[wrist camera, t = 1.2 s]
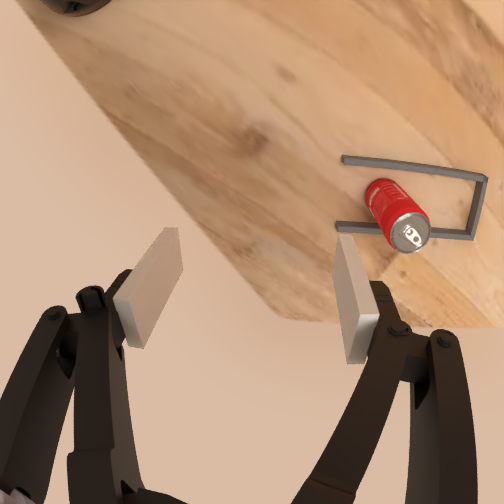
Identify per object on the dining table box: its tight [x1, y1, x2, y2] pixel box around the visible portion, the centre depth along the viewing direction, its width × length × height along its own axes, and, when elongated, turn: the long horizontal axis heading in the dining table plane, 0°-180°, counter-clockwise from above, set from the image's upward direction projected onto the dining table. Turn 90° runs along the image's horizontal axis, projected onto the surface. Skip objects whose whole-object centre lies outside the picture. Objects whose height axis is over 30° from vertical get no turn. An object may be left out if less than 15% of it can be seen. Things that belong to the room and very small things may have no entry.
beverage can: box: [366, 179, 431, 254], centre depth 35 cm, size 5×5×12 cm
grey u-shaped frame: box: [336, 155, 488, 241], centre depth 39 cm, size 22×10×2 cm, turn 89°
